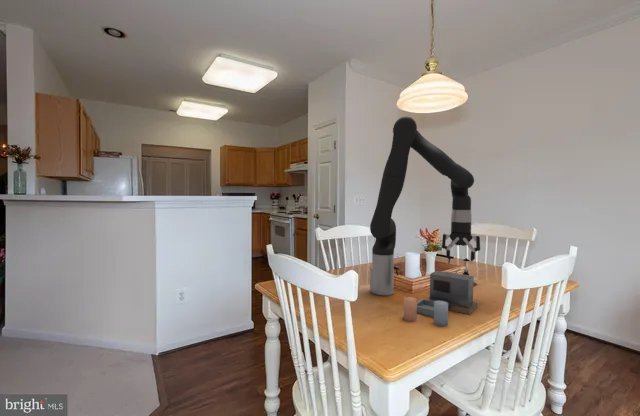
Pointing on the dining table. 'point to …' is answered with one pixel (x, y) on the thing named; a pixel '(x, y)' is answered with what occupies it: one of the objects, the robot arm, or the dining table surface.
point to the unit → (453, 291)
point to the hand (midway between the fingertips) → (460, 259)
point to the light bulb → (467, 270)
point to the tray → (425, 307)
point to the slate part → (441, 313)
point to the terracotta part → (410, 309)
